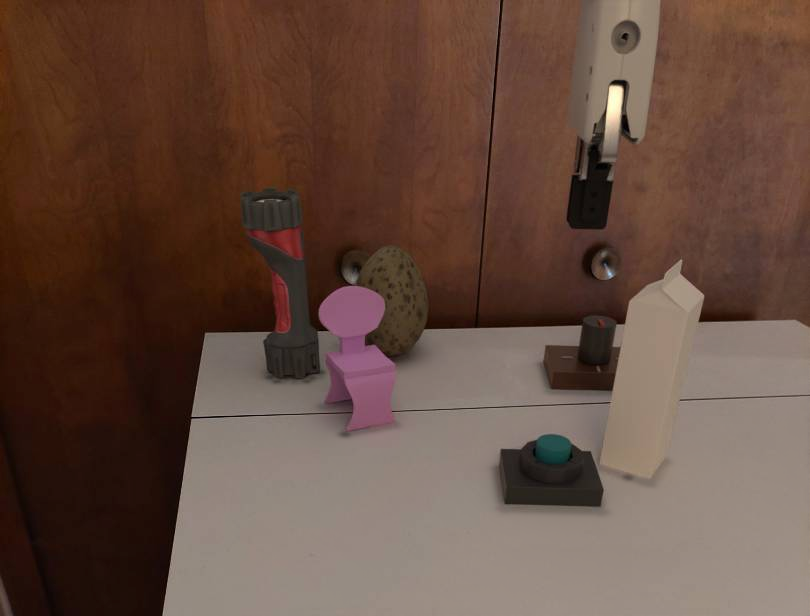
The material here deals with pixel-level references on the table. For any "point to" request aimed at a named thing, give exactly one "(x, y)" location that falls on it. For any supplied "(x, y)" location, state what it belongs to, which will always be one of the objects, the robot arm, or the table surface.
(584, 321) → the dial
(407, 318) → the decorative egg
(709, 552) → the table surface
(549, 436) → the teal push button
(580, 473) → the push button base
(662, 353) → the milk
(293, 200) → the flashlight
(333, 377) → the toy chair
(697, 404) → the table surface
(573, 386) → the dial panel
